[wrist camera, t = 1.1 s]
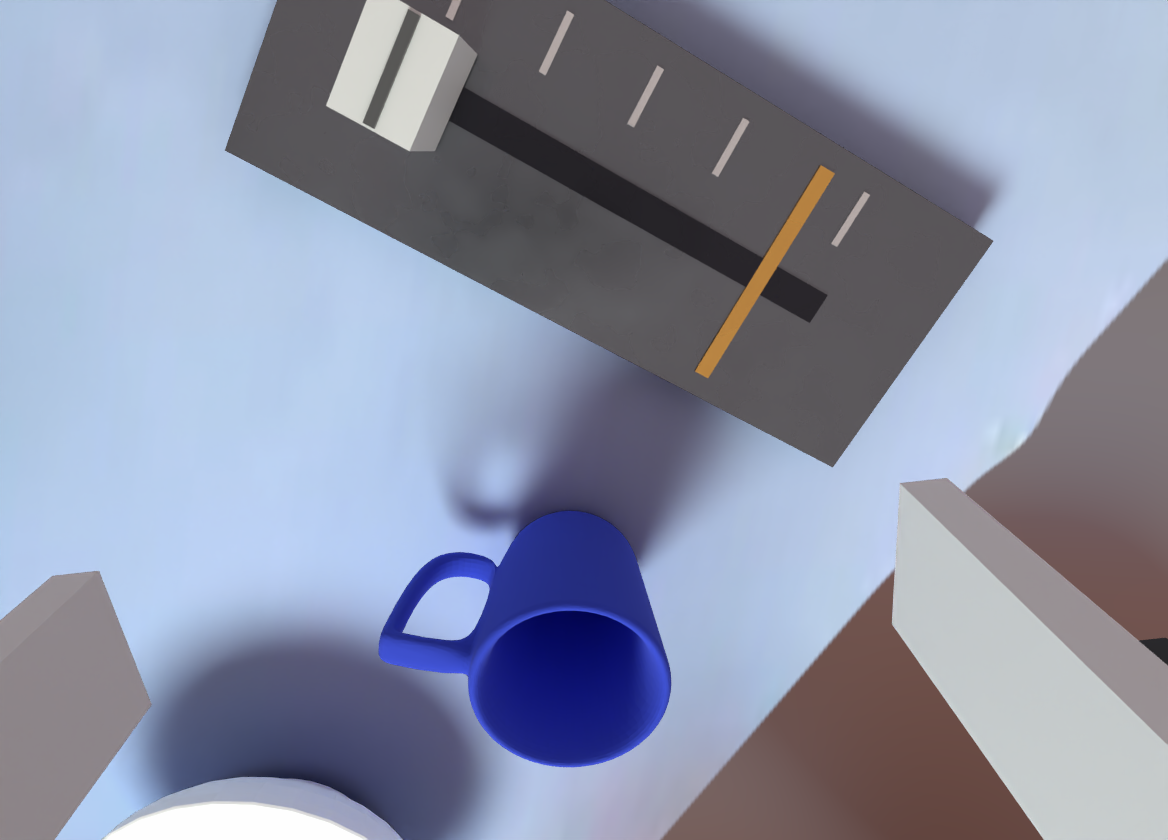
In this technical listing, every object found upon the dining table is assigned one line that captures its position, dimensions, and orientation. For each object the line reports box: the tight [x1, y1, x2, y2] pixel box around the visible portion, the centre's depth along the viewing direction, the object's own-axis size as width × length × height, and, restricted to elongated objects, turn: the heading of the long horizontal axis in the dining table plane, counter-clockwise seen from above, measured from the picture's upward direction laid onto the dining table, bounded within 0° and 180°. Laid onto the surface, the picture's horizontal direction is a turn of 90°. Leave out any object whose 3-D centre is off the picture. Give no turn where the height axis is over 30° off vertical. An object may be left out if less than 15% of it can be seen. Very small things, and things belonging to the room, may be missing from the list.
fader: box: [326, 0, 477, 151], centre depth 26 cm, size 3×4×5 cm
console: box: [225, 0, 993, 467], centre depth 31 cm, size 30×12×2 cm, turn 62°
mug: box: [379, 511, 671, 767], centre depth 34 cm, size 8×12×10 cm
